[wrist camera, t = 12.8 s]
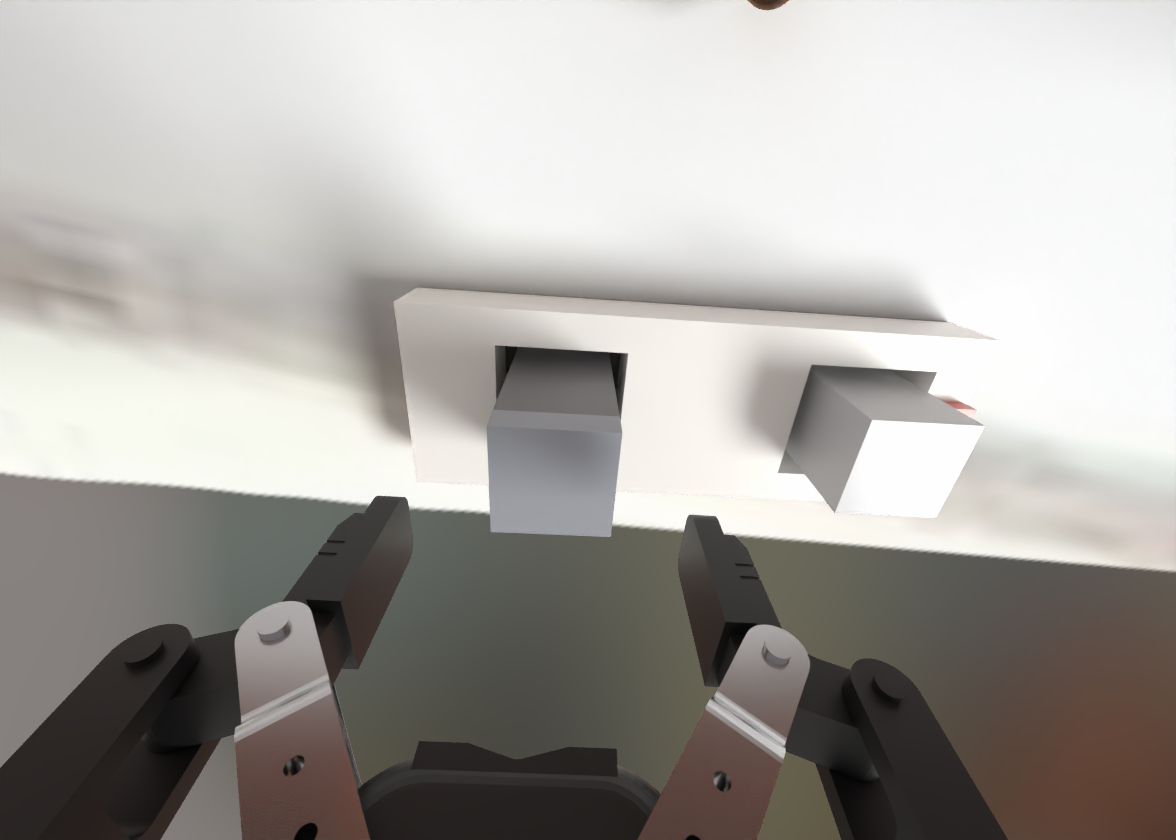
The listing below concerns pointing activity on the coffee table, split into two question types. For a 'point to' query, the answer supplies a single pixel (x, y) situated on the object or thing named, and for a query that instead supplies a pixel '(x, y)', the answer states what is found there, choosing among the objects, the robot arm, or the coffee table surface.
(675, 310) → the white block holder
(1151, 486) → the coffee table surface
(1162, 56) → the coffee table surface
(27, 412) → the coffee table surface
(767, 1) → the tin
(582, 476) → the grey rectangular block
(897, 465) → the grey plug
